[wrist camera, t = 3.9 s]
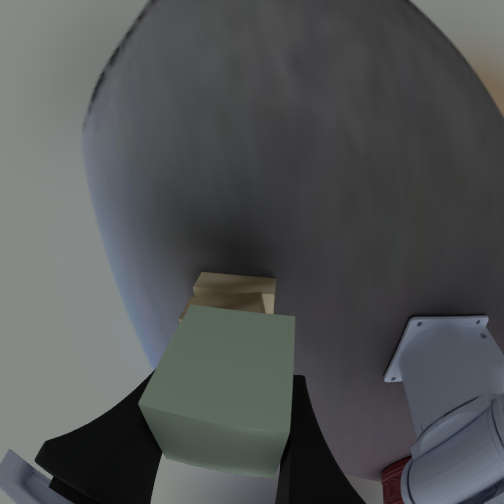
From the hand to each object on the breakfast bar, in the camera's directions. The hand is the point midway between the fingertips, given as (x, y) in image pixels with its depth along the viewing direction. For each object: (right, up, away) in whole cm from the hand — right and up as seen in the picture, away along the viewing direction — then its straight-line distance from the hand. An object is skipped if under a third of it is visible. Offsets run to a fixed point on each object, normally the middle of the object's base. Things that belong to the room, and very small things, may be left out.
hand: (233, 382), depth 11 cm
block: (0, +1, +2) cm, 2 cm away
